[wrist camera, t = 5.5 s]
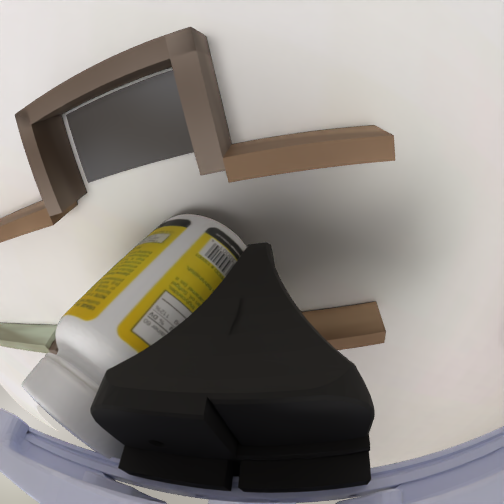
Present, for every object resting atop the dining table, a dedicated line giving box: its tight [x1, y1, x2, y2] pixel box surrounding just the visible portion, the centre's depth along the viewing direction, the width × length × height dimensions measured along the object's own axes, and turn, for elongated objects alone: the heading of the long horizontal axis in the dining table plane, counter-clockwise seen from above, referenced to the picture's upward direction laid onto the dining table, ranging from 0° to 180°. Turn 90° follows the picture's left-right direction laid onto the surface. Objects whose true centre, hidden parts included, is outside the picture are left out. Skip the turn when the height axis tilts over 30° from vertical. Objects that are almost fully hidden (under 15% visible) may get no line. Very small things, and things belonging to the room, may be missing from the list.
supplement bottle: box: [22, 214, 247, 459], centre depth 9 cm, size 5×5×8 cm
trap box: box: [0, 27, 395, 355], centre depth 14 cm, size 18×32×2 cm, turn 102°
